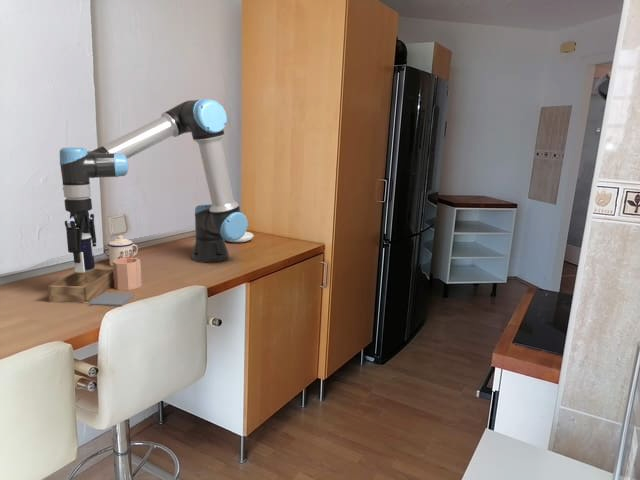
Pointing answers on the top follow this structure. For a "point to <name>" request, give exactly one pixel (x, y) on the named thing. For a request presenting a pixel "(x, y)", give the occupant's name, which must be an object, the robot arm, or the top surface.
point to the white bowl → (244, 237)
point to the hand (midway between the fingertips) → (85, 269)
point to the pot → (127, 273)
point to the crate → (72, 292)
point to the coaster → (112, 299)
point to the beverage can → (87, 252)
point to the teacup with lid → (121, 249)
